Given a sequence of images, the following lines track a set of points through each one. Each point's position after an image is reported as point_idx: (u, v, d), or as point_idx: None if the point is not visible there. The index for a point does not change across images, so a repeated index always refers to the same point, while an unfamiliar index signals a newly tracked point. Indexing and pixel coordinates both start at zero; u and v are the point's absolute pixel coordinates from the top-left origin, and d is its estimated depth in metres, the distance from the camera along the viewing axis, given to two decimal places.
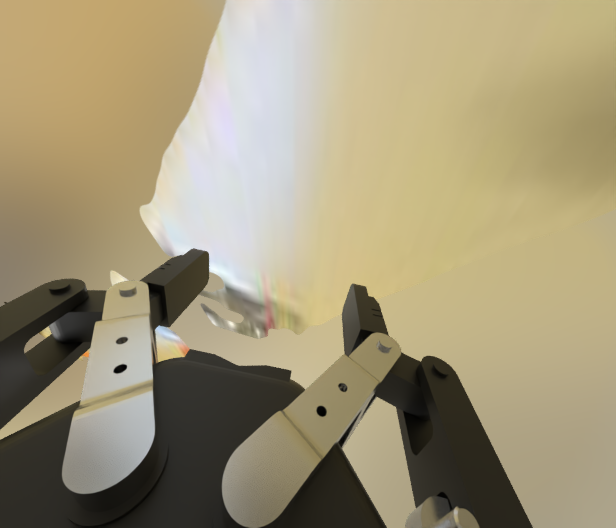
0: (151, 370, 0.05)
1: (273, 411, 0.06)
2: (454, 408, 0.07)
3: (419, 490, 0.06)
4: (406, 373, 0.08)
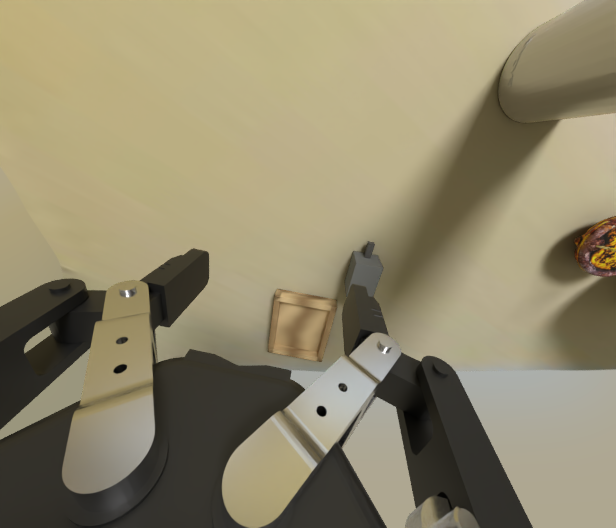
0: (151, 370, 0.05)
1: (273, 411, 0.06)
2: (454, 408, 0.07)
3: (419, 490, 0.06)
4: (406, 373, 0.08)
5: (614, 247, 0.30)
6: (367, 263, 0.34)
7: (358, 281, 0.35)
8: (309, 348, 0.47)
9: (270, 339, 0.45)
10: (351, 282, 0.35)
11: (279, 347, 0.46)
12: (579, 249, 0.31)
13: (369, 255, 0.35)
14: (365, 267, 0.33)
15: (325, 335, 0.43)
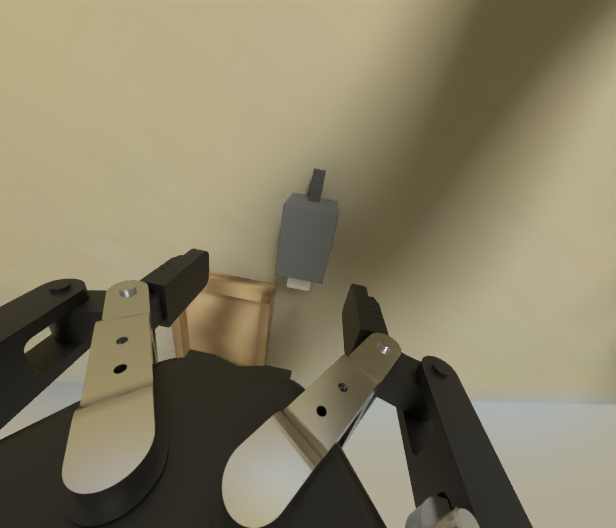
0: (151, 370, 0.05)
1: (273, 411, 0.06)
2: (454, 408, 0.07)
3: (419, 490, 0.06)
4: (406, 373, 0.08)
5: None
6: (308, 206, 0.17)
7: (292, 244, 0.18)
8: (243, 361, 0.30)
9: (176, 347, 0.28)
10: (280, 246, 0.18)
11: None
12: None
13: (317, 195, 0.18)
14: (302, 213, 0.17)
15: (259, 343, 0.26)
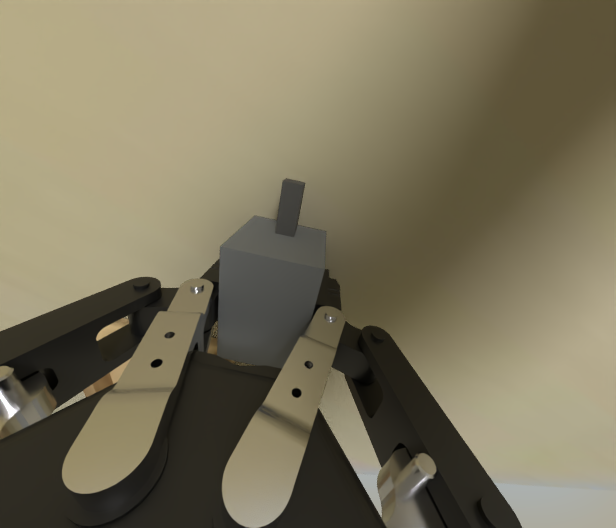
0: (179, 373, 0.05)
1: None
2: (395, 367, 0.08)
3: (380, 447, 0.07)
4: (349, 340, 0.09)
5: None
6: (269, 250, 0.09)
7: (243, 313, 0.10)
8: None
9: None
10: (221, 315, 0.10)
11: None
12: None
13: (290, 225, 0.11)
14: (257, 265, 0.09)
15: None
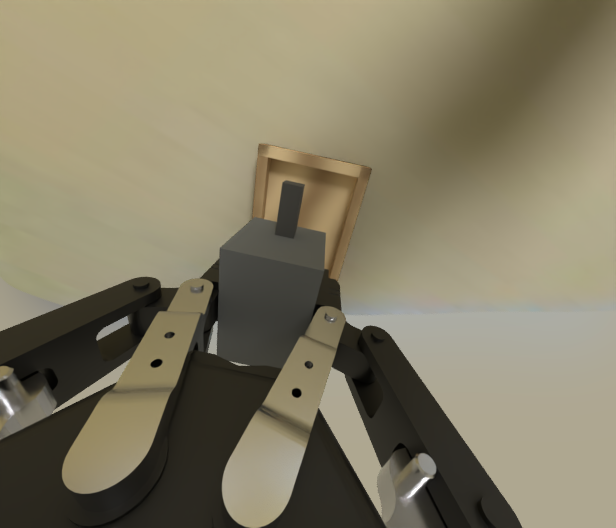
0: (179, 373, 0.05)
1: None
2: (395, 367, 0.08)
3: (380, 447, 0.07)
4: (349, 340, 0.09)
5: None
6: (268, 252, 0.09)
7: (242, 314, 0.10)
8: None
9: None
10: (221, 316, 0.10)
11: None
12: None
13: (290, 227, 0.11)
14: (257, 266, 0.09)
15: (345, 233, 0.25)
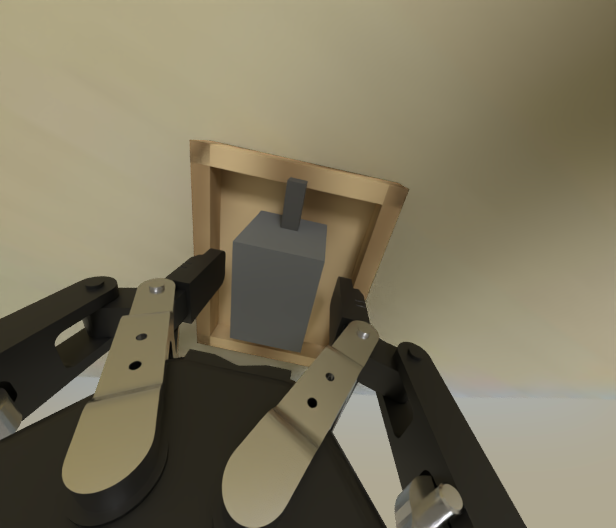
0: (163, 370, 0.05)
1: None
2: (430, 389, 0.07)
3: (404, 470, 0.07)
4: (383, 358, 0.08)
5: None
6: (275, 244, 0.10)
7: (252, 299, 0.11)
8: (306, 337, 0.18)
9: None
10: (234, 301, 0.11)
11: (228, 331, 0.18)
12: None
13: (294, 221, 0.12)
14: (265, 257, 0.10)
15: None
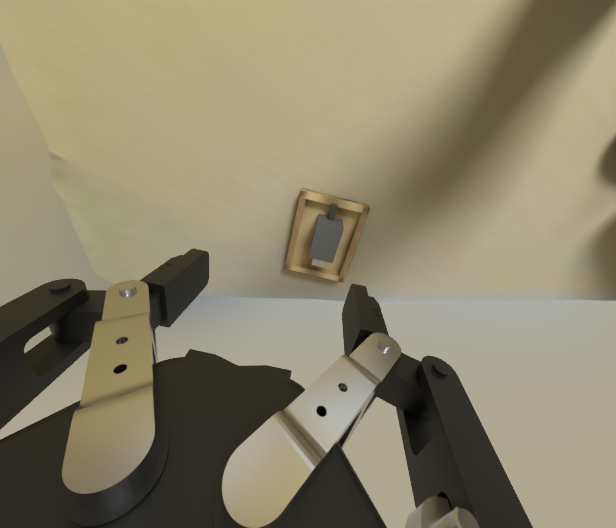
0: (151, 370, 0.05)
1: (273, 411, 0.06)
2: (454, 408, 0.07)
3: (419, 490, 0.06)
4: (406, 373, 0.08)
5: None
6: (329, 224, 0.34)
7: (319, 242, 0.35)
8: (330, 268, 0.42)
9: (289, 251, 0.40)
10: (313, 242, 0.35)
11: (297, 264, 0.42)
12: None
13: (332, 217, 0.36)
14: (326, 227, 0.34)
15: (352, 246, 0.39)
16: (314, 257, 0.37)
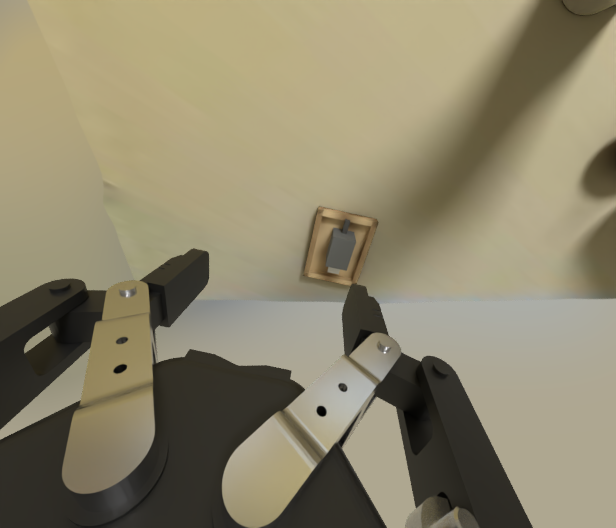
0: (151, 370, 0.05)
1: (273, 411, 0.06)
2: (454, 408, 0.07)
3: (419, 490, 0.06)
4: (406, 373, 0.08)
5: None
6: (343, 237, 0.40)
7: (335, 253, 0.41)
8: (343, 274, 0.48)
9: (307, 260, 0.46)
10: (329, 253, 0.41)
11: (314, 271, 0.47)
12: None
13: (346, 231, 0.41)
14: (341, 240, 0.39)
15: (363, 255, 0.44)
16: (330, 266, 0.42)
